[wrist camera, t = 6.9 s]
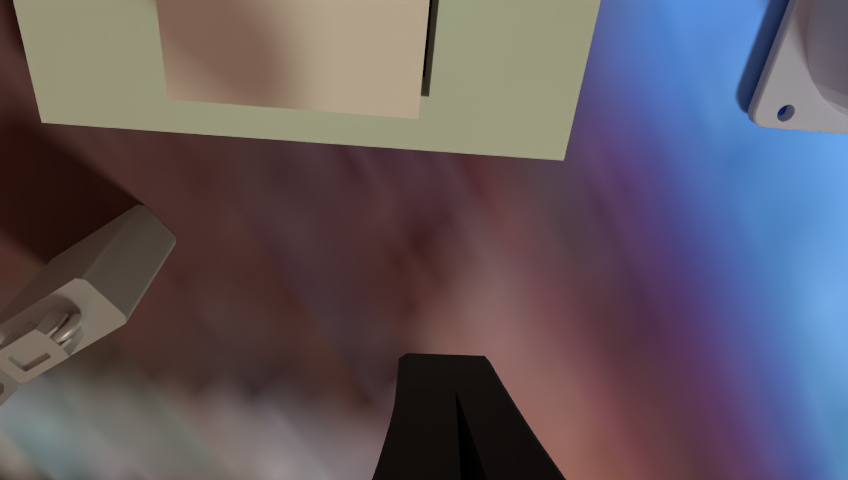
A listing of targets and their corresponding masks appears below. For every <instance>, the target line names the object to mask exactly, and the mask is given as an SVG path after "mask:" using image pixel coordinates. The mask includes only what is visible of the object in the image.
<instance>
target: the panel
mask: <svg viewBox="0 0 848 480" xmlns="http://www.w3.org/2000/svg"><path fill="white" fill-rule="evenodd" d="M13 2H14V6H15V11H16V15H17V19H18V23H19V28H20V32H21V36H22V40H23V45H24V49H25V53H26V58H27V62H28V66H29V70H30V75H31V79H32V83H33V87H34V92H35V96H36V100H37V104H38V109H39V113H40V117H41V122H42V123H54V124H68V125H82V126H95V127H109V128H123V129H137V130H151V131H164V132H178V133H192V134H206V135H219V136H233V137H247V138H261V139H275V140H288V141H302V142H316V143H330V144H344V145H357V146H371V147H385V148H399V149H412V150H426V151H440V152H454V153H468V154H481V155H495V156H509V157H523V158H536V159H550V160H564V157H565V153H566V149H567V144H568V140H569V136H570V131H571V127H572V123H573V118H574V114H575V110H576V105H577V101H578V97H579V92H580V88H581V84H582V79H583V75H584V71H585V66H586V62H587V58H588V54H589V49H590V45H591V41H592V36H593V32H594V28H595V23H596V19H597V15H598V10H599V6H600V2H601V0H432V9H431V19H430V30H429V40H428V50H427V60H426V70H425V78H424V77H422V85H421V96H420V106H419V117H418V119H412V118H399V117H386V116H374V115H361V114H348V113H335V112H322V111H309V110H296V109H284V108H271V107H258V106H245V105H232V104H219V103H206V102H193V101H181V100H168V97H167V89H166V81H165V73H164V64H163V56H162V48H161V40H160V31H159V23H158V15H157V7H156V0H13Z"/></svg>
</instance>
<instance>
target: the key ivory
mask: <svg viewBox="0 0 848 480" xmlns="http://www.w3.org/2000/svg"><path fill="white" fill-rule="evenodd" d="M429 2H430V0H156V7H157V15H158V23H159V31H160V40H161V48H162V56H163V64H164V73H165V81H166V89H167V97H168V100H181V101H193V102H206V103H219V104H232V105H245V106H258V107H271V108H284V109H296V110H309V111H322V112H335V113H348V114H361V115H374V116H386V117H399V118H412V119H418V117H419V106H420V96H421V85H422V75H423V64H424V54H425V43H426V33H427V23H428V12H429Z"/></svg>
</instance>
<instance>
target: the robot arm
mask: <svg viewBox="0 0 848 480" xmlns="http://www.w3.org/2000/svg"><path fill="white" fill-rule="evenodd" d="M785 105H787V110H786V111H785V113H784V114H783V115H781V116H780V117H777V114H778V111H779V110H780V108H782V107H783V106H785ZM748 116H749V119H750V120H751V121H752V122H753V123H755V124H756V125H758V126H761V127H767V128H779V129H792V130H804V131H816V132H829V133H841V134H848V0H789V3H788V6H787V8H786V11H785V14H784V16H783V19H782V21H781V24H780V27H779V29H778V32H777V35H776V37H775V40H774V42H773V45H772V48H771V50H770V53H769V56H768V58H767V61H766V63H765V66H764V69H763V71H762V74H761V76H760V79H759V82H758V84H757V87H756V90H755V92H754V95H753V97H752V100H751V103H750V105H749V109H748ZM372 480H566V479H565V478H564V476H563V475H562V473H561V472H560V470H559V469H558V468H557V466H556V465H555V463H554V462H553V461H552V459H551V458H550V456H549V455H548V453H547V452H546V451H545V449H544V448H543V446H542V445H541V443H540V442H539V440H538V439H537V437H536V436H535V434H534V433H533V431H532V430H531V428H530V427H529V425H528V424H527V422H526V421H525V419H524V418H523V416H522V415H521V413H520V411H519V410H518V408H517V407H516V405H515V404H514V402H513V400H512V399H511V397H510V395H509V394H508V392H507V390H506V389H505V387H504V385H503V384H502V382H501V380H500V379H499V377H498V375H497V374H496V372H495V370H494V368H493V367H492V365H491V363H490V362H489V361H488V359H487V358H486V357H485V356H471V355H442V354H414V353H407V354H405V355H404V356H402V357H401V358H399V364H398V374H397V384H396V394H395V405H394V409H393V413H392V418H391V422H390V425H389V429H388V432H387V435H386V439H385V442H384V445H383V448H382V452H381V455H380V458H379V462H378V465H377V467H376V470H375V473H374V476H373V479H372Z"/></svg>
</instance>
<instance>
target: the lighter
mask: <svg viewBox="0 0 848 480" xmlns="http://www.w3.org/2000/svg"><path fill="white" fill-rule="evenodd" d="M175 244H176V237H175V236H174V235H173V234H172V233H171V232H170V231H169V230H168V229H167V228H166V227H165V226H164V225H163V224H162V222H161V221H160V220H159V219H158V218H157V217H156V216H155V215H154V214H153V213H152V212H151V211H150V210H149V209H148V208H147V207H146V206H144V205H138V204H137V205H136V206H134V207H133V208H131V209H129V210H128V211H126V212H125V213H123V214H122V215H120V216H119V217H117V218H115V219H114V220H112V221H111V222H109V223H108V224H106V225H104V226H103V227H101V228H100V229H98V230H97V231H95V232H93V233H92V234H90V235H89V236H87V237H86V238H84V239H83V240H81V241H79V242H78V243H76V244H75V245H73V246H72V247H70V248H68V249H67V250H65V251H64V252H62V253H61V254H59V255H57V256H56V257H54V258H53V259H52V260H51V261H50V262H49V263H48V264H47V265H46V266H45V267H44V268H43V269H42V270H41V271H40V272H39V273H38V274H37V275H36V276H35V278H34V279H33V280H32V281H31V282H30V283H29V284H28V285H27V286H26V287H25V288H24V289H23V290H22V291H21V292H20V293H19V294H18V295H17V296H16V298H15V299H14V300H13V301H12V302H11V303H10V304H9V305H8V306H7V307H6V308H5V309H4V310H3V311H2V312H1V313H0V406H1V405H2V404H3V403H4V402H5V401H6V400H7V399H8V398H9V397H10V396H11V395H12V394H13V393H14V392H15V391H16V390H17V382H20V383H25V382H27V381H29V380H31V379H32V378H34V377H36V376H37V375H39V374H41V373H43V372H44V371H46V370H48V369H49V368H51V367H53V366H55V365H56V364H58V363H60V362H61V361H63V360H65V359H67V358H68V357H70V356H71V355H72V354H74V353H76V352H77V351H79V350H81V349H83V348H84V347H86V346H88V345H89V344H91V343H93V342H95V341H96V340H98V339H100V338H101V337H103V336H105V335H106V334H108V333H110V332H112V331H113V330H115V329H117V328H118V327H120V326H122V325H124V324H125V323H126V322H127V320H128V319H129V317H130V316H131V314H132V312H133V311H134V309H135V308H136V306H137V304H138V303H139V301H140V300H141V298H142V296H143V295H144V293H145V292H146V290H147V288H148V287H149V285H150V284H151V282H152V281H153V279H154V277H155V276H156V274H157V273H158V271H159V269H160V268H161V266H162V265H163V263H164V261H165V260H166V258H167V257H168V255H169V253H170V252H171V250H172V249H173V247H174V245H175Z"/></svg>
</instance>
